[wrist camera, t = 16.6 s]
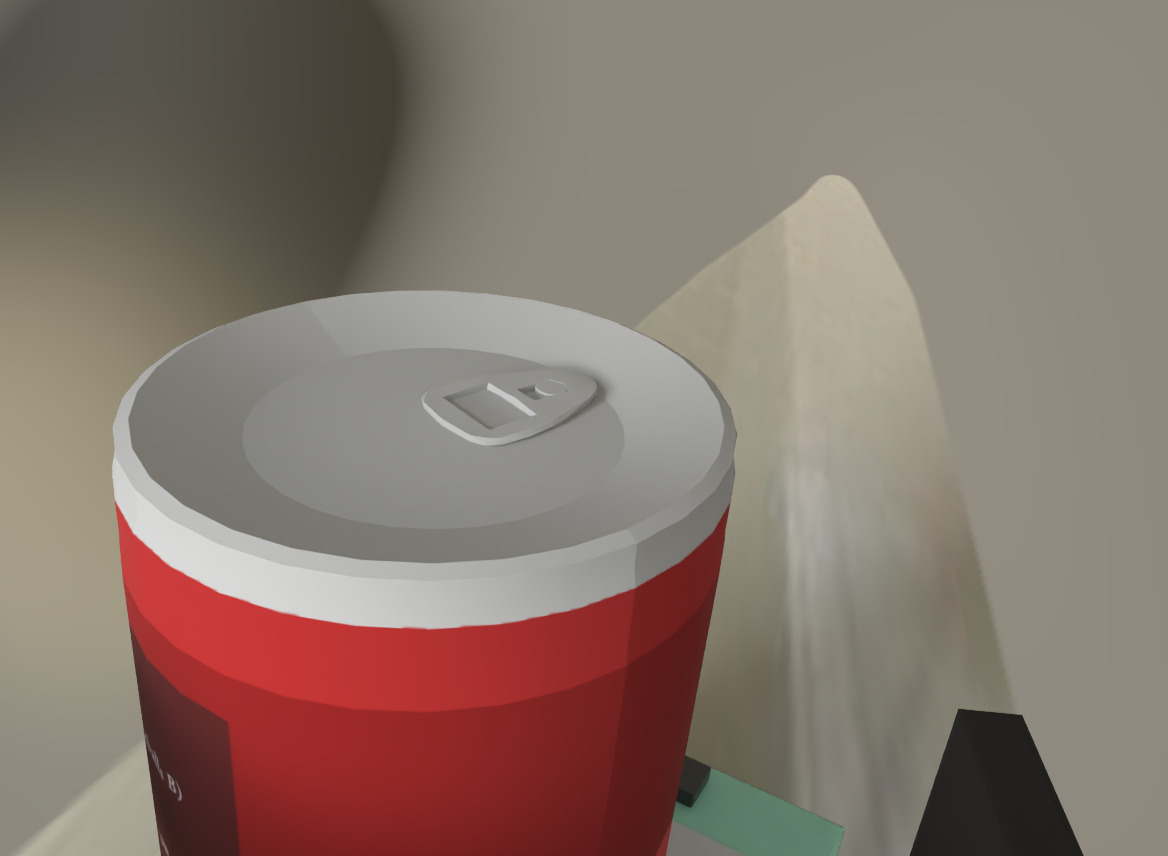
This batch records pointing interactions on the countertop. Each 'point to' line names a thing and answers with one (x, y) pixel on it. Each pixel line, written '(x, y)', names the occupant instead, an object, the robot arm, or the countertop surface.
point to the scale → (742, 820)
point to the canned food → (420, 578)
